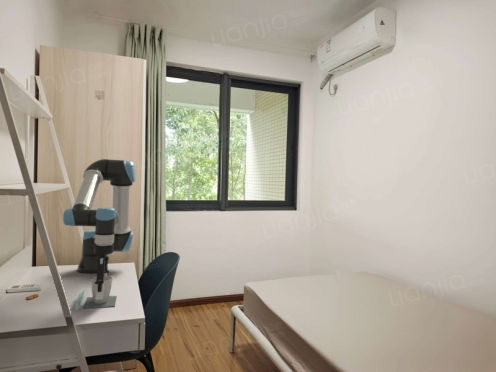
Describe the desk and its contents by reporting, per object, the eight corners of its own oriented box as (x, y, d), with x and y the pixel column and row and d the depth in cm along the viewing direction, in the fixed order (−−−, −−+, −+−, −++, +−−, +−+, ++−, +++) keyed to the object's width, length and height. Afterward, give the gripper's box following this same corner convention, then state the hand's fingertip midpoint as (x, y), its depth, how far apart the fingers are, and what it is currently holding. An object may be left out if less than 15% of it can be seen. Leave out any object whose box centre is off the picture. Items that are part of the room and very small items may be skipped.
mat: (87, 298, 140) (87, 297, 140) (116, 296, 144) (116, 295, 144) (82, 308, 128) (82, 307, 128) (114, 306, 132) (114, 305, 132)
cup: (115, 300, 138) (116, 277, 138) (100, 306, 131) (102, 282, 131) (100, 296, 141) (102, 274, 141) (85, 302, 134) (87, 279, 134)
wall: (81, 297, 140) (81, 288, 140) (83, 297, 140) (84, 288, 140) (75, 310, 127) (75, 300, 127) (77, 310, 127) (78, 300, 127)
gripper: (98, 238, 147) (95, 284, 147) (90, 250, 123) (86, 305, 123) (115, 238, 149) (113, 283, 149) (111, 250, 125) (107, 303, 126)
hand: (101, 293), depth 136 cm, fingers open, 13 cm apart
